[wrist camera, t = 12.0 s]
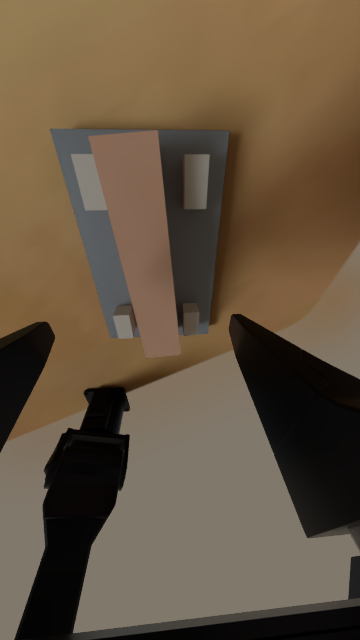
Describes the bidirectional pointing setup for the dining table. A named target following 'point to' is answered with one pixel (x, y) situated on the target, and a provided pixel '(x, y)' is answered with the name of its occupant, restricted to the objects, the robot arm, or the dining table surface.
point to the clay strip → (141, 232)
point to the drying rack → (182, 216)
